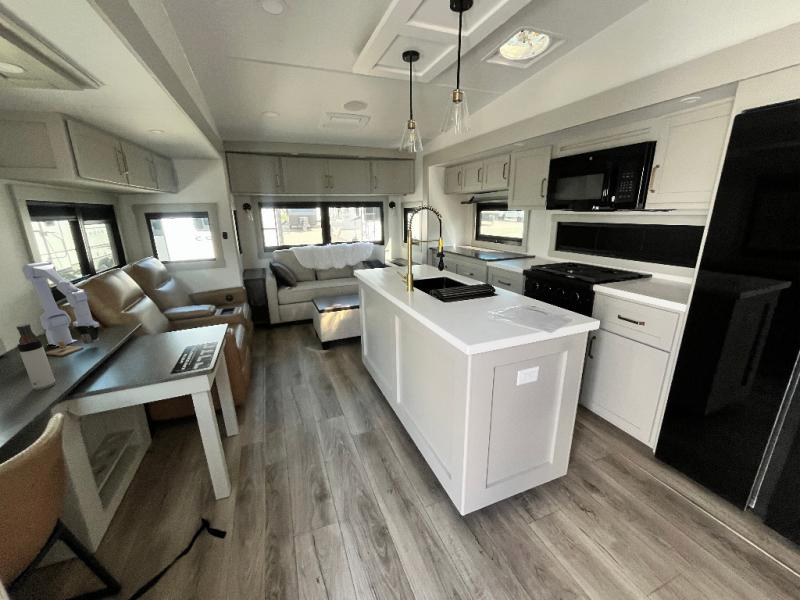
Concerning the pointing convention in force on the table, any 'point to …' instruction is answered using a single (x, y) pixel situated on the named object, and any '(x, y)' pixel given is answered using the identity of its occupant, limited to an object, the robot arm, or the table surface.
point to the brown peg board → (63, 349)
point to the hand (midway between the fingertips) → (90, 338)
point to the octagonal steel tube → (87, 338)
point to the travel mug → (36, 364)
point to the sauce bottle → (26, 333)
